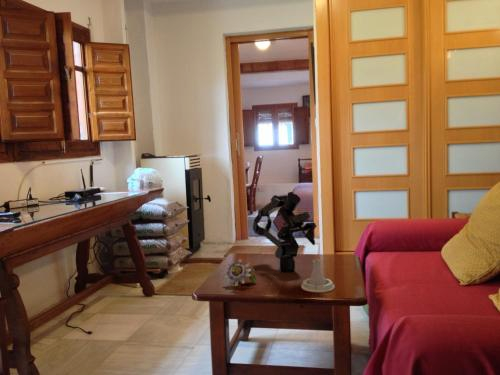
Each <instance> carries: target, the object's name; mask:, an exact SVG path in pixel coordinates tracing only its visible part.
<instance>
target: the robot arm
mask: <svg viewBox="0 0 500 375" xmlns="http://www.w3.org/2000/svg"><path fill="white" fill-rule="evenodd" d="M300 202H301V198H300V195H299V196H298V194H295V193H294V192H293V191H289V192H288V193H287V194H285V193H284V194H275V195H272V197H271V199H270V202H269V203H268V204H266V205H265V206H263V207H262V208H260V209H258V212H257V215H256V216H255V218H254V219H253V224H252V230H253V232H254V234H255V235H257V236H264V237H265V238H266V239H268V241H269V242H271V243H272V244H273V245H274V246H276V250H275V251H274V256H275V258H277V259H278V268H277V269H278V270H279V272H280V273H290V272H291V273H292V272H296V271H295V270H296V261H295V259H294V258H296V257H297V256H298V252H299V248H300V246H299V242H297V240H296V238H295V237H294V234H295V233H301V232H302V234H304V237H305V238H306V239H307V240H308V242H310V244H311V245H312V246H315V245H316V241H315V235H314V231H315V229H316V228H317V224H316V223H315V222H313V221H310V222H309V219H310V217H311V215H310V213H309V212H308V211H304V212H302V213H298V214H295V212H294V211H295V210H296V209H297V208H298V206H299V205H300ZM276 211H277V213H276V214H277V217H281V220H282V221H283V226H281V227H280V229H279V230H278V232H276V231H275V230H274V229H273V228H272V219H271V217H270V216H271V214H273V213H274V212H276ZM265 217H266V218H267V219H266V221H261V220H262V218H265ZM306 221H308V222H306ZM305 222H306V223H305ZM303 225H304V226H303Z"/></svg>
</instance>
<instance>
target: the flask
mask: <svg viewBox="0 0 500 375" xmlns="http://www.w3.org/2000/svg"><path fill="white" fill-rule="evenodd" d="M312 263H313V265H312V266H313V267H312V271H311V275H310V277H309V278H310V280H309V283H308V284H310V285H315V286H317V285H326V282H325V280H324V278H325V277H324V275H323V272H322V269H321V260H320V259H313V260H312Z"/></svg>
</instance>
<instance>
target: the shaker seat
mask: <svg viewBox="0 0 500 375" xmlns="http://www.w3.org/2000/svg"><path fill="white" fill-rule="evenodd" d="M310 278H311V277H308V278H306V279H303V281H302V284H301V286H300V287H301V289H302V290H303V291H306V292H312V293H327V292H331V291H333V290H334V289H335V284H334V283H333V281H332V280H331V279H330V278H325V277H324V280H325V282H326V285H317V286H315V285H310V284H308V283H309V280H310Z"/></svg>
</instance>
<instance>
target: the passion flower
mask: <svg viewBox="0 0 500 375" xmlns="http://www.w3.org/2000/svg"><path fill="white" fill-rule="evenodd" d="M249 266H250V262H247V263H242V259H241V258H239V259H238V260H237V261H235V262H234V263H232V262H231V263H228V267H227V271H226V274H225V275H223V278H224V279H227V278H229V279H230V281H229V282H230V283H229V284H230V285H233V284H234V286H235V287H238V285H239V283H241V284H245V283H246V278H247V277H248V279H249V280H250V281H251V283H252V284H253V285H255V284H256V282H257V277H256V275H255V274H254V272H255V270H254V268H253V267H252V266H250V267H249ZM223 278H222V279H223Z"/></svg>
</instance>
